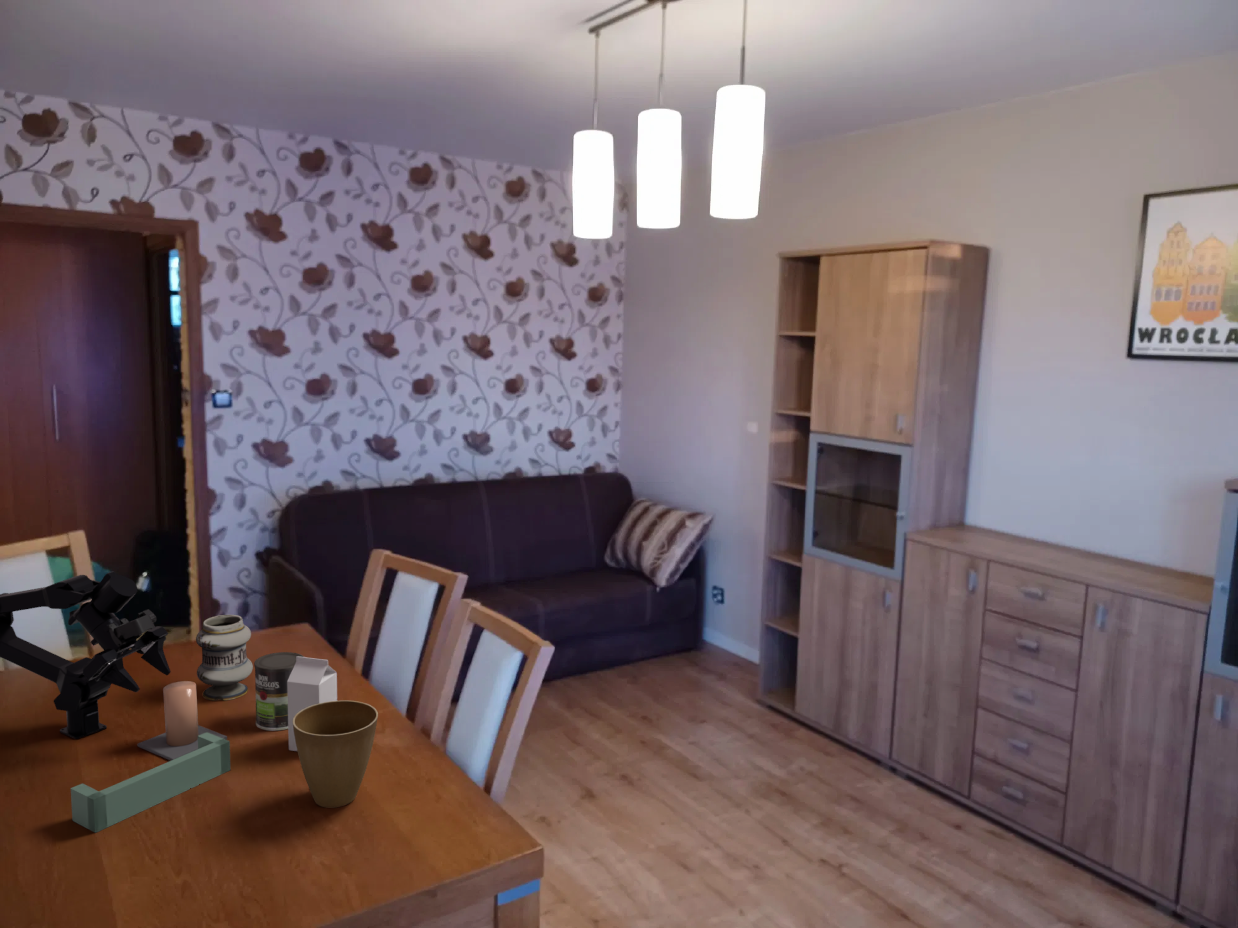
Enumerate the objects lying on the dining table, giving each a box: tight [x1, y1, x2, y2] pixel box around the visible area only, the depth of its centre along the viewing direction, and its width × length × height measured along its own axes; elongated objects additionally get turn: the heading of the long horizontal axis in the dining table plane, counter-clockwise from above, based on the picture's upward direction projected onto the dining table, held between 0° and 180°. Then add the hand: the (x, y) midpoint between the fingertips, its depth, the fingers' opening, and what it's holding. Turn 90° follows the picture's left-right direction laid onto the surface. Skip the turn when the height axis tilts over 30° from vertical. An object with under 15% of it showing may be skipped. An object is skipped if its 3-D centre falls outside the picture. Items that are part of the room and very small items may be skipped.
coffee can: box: [253, 651, 305, 732], centre depth 190 cm, size 10×10×14 cm
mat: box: [136, 724, 228, 761], centre depth 180 cm, size 12×12×1 cm
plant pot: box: [293, 699, 379, 809], centre depth 159 cm, size 15×15×16 cm
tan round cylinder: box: [162, 680, 199, 746], centre depth 179 cm, size 6×6×12 cm
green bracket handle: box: [70, 732, 231, 834], centre depth 159 cm, size 7×26×6 cm, turn 150°
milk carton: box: [287, 656, 338, 752], centre depth 179 cm, size 7×7×19 cm
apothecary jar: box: [195, 614, 254, 702], centre depth 204 cm, size 12×12×18 cm
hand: (153, 682), depth 179 cm, fingers open, 9 cm apart
